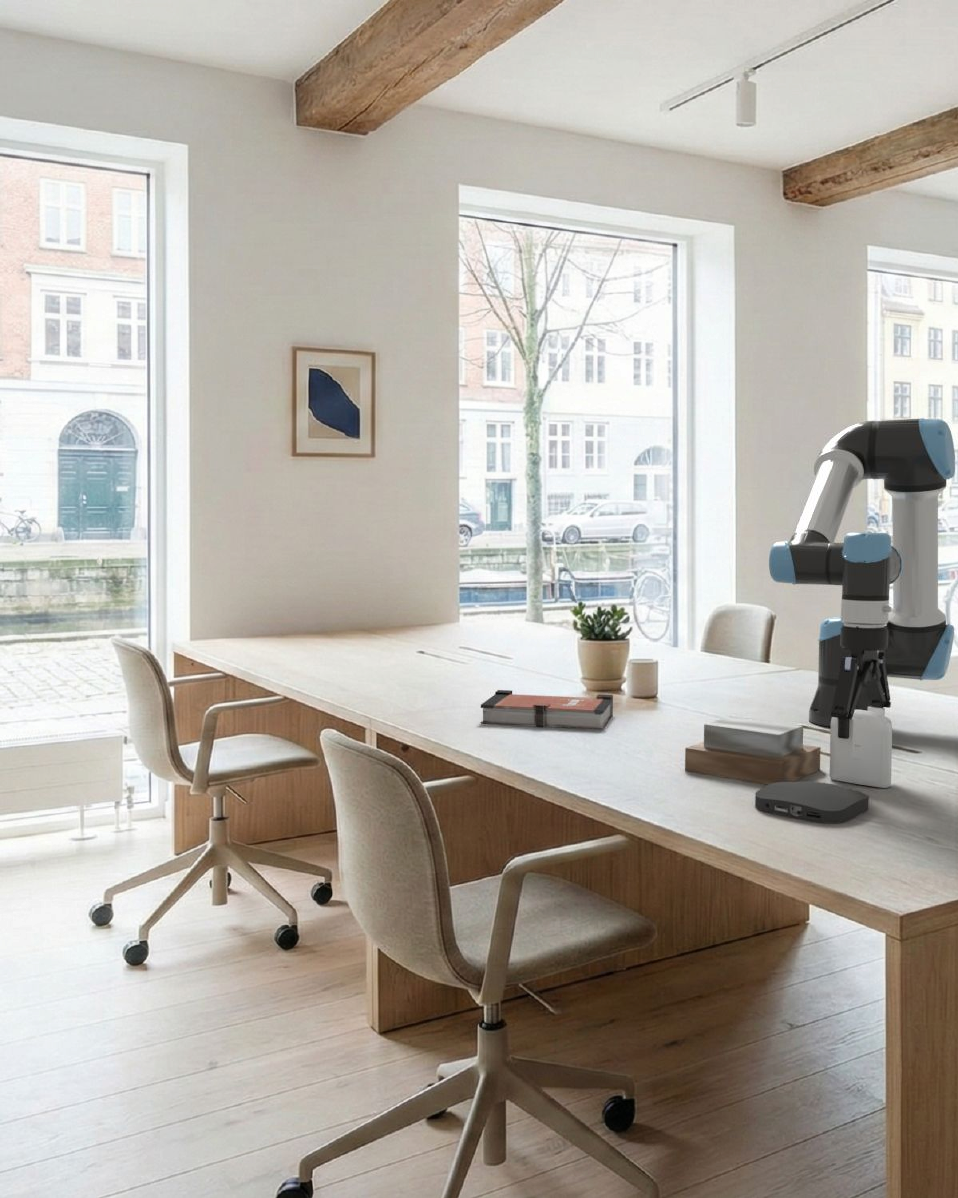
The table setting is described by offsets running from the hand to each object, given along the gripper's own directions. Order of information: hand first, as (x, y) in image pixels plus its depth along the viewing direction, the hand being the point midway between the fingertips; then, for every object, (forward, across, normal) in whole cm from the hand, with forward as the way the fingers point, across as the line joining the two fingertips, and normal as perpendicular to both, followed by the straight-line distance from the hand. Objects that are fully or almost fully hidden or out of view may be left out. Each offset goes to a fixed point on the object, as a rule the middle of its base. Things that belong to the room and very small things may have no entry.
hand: (860, 751), depth 186 cm
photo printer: (+6, 0, 0) cm, 6 cm away
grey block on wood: (+5, -3, +18) cm, 19 cm away
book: (+6, +12, +73) cm, 74 cm away
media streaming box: (+6, -20, 0) cm, 21 cm away
